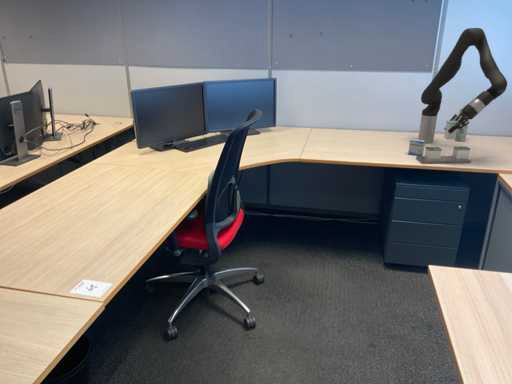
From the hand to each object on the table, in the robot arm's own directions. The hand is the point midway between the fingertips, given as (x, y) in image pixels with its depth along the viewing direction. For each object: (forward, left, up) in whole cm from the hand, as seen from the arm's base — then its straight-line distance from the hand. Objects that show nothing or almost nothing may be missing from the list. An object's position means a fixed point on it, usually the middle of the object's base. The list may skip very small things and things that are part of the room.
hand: (447, 131), depth 232 cm
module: (0, +2, -4) cm, 5 cm away
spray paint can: (-41, +30, -17) cm, 54 cm away
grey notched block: (0, 0, -17) cm, 17 cm away
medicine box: (-13, -10, -17) cm, 24 cm away
